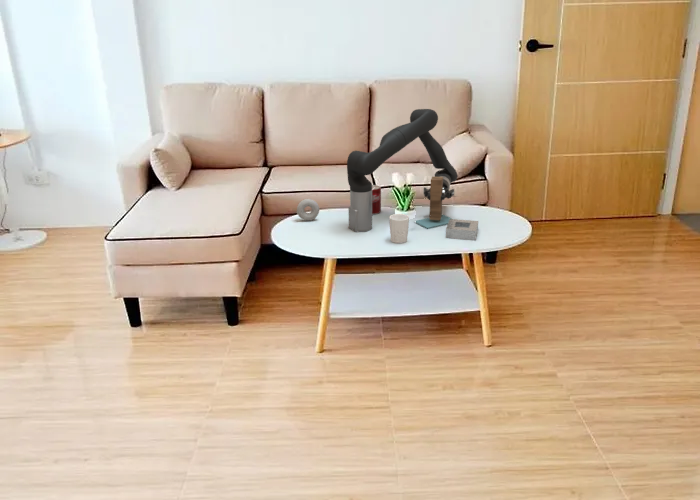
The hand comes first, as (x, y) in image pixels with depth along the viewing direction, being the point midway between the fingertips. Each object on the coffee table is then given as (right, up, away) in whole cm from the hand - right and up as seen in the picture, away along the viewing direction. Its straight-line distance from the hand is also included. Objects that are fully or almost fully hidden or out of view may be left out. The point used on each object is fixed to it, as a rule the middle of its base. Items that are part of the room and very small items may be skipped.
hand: (435, 198), depth 266 cm
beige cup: (-16, -18, -11) cm, 27 cm away
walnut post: (+1, -8, +6) cm, 10 cm away
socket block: (+10, -15, -6) cm, 19 cm away
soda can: (-26, -5, +21) cm, 34 cm away
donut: (-55, -9, +12) cm, 57 cm away
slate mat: (+1, -10, +7) cm, 12 cm away
